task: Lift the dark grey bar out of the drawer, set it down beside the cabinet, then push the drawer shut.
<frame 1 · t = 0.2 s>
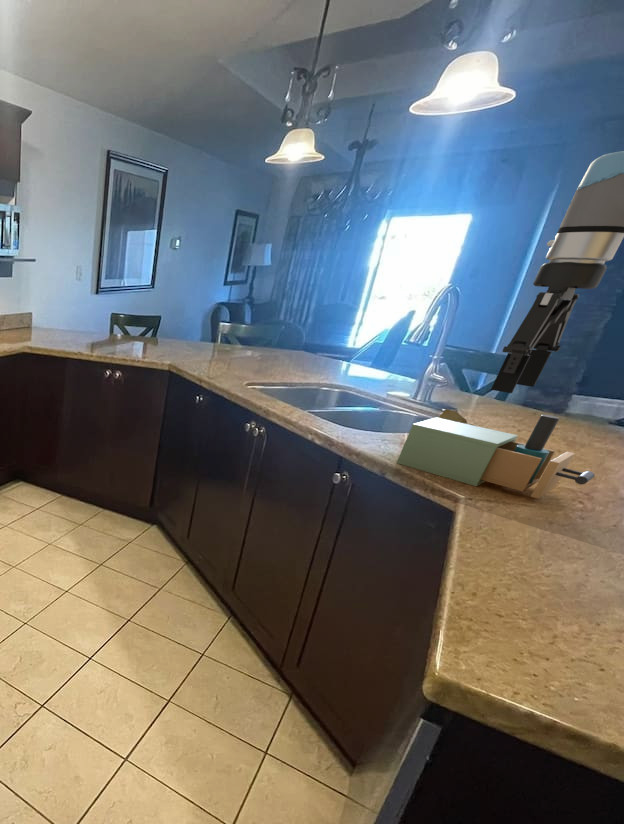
hand: (512, 388, 90), 23 cm above the countertop, tool pointing down, fingers open, 13 cm apart
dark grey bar: (516, 479, 105), point 2 cm above the countertop, touching drawer
cabinet: (445, 469, 115), on the countertop
rock: (445, 449, 129), on the countertop
drawer: (525, 467, 104), point 5 cm above the countertop, slide at 8.0 cm, touching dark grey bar
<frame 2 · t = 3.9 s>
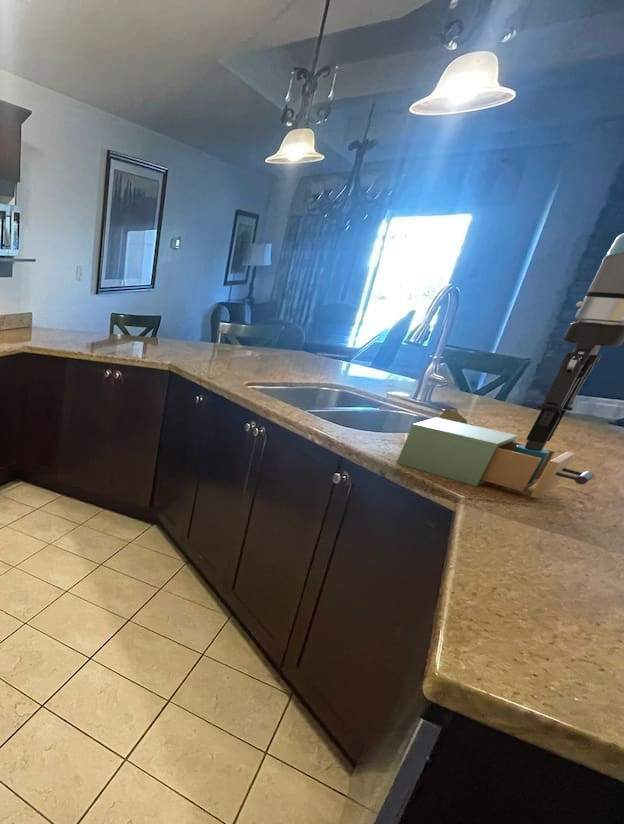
hand: (537, 440, 101), 11 cm above the countertop, tool pointing down, fingers closed on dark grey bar, 3 cm apart
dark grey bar: (516, 479, 105), point 2 cm above the countertop, touching gripper
drawer: (525, 467, 104), point 5 cm above the countertop, slide at 8.0 cm
everything else where it was.
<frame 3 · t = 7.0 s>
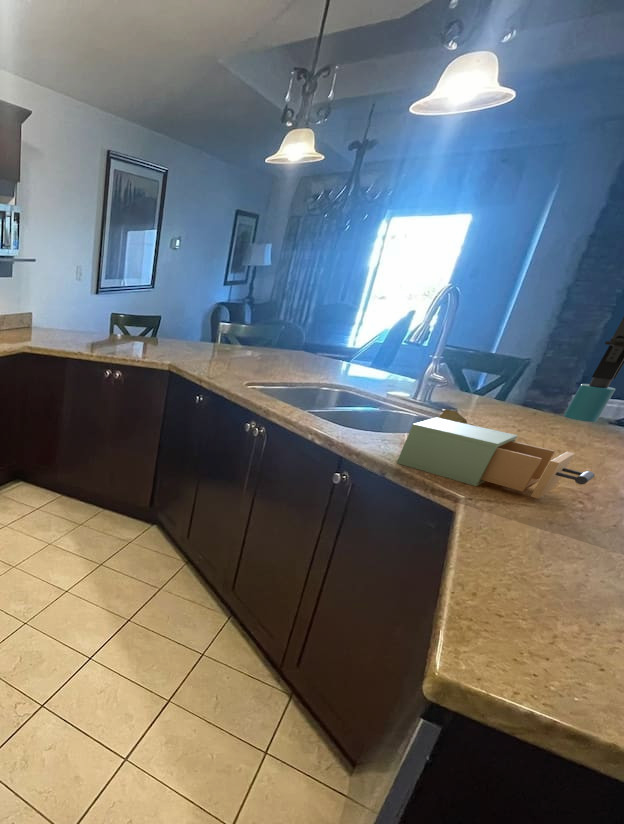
hand: (603, 377, 101), 24 cm above the countertop, tool pointing down, fingers closed on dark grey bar, 3 cm apart
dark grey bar: (579, 418, 105), point 15 cm above the countertop, touching gripper
everything else where it was.
when the fingers open (9 cm above the countertop, at t = 10.4 s): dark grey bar stays where it is, on the countertop.
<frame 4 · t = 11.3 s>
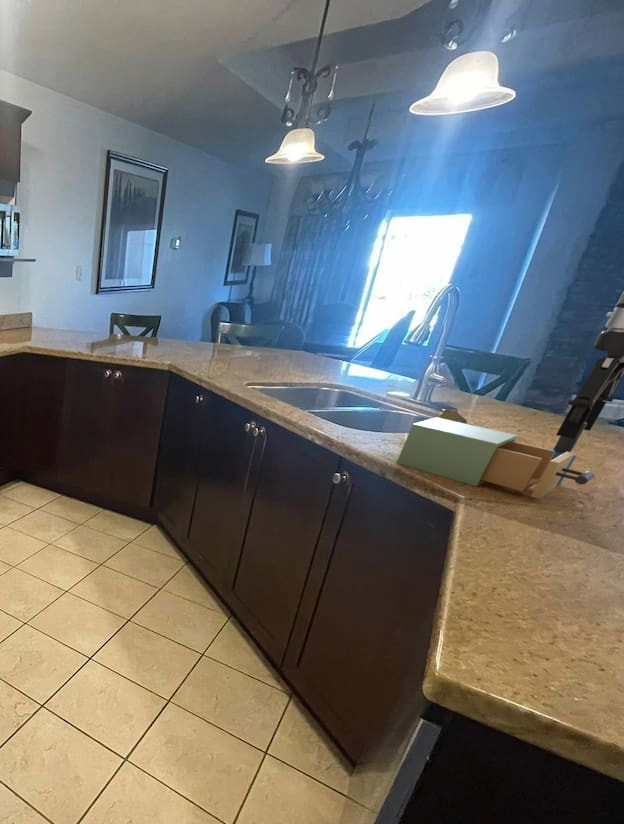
hand: (573, 432, 106), 11 cm above the countertop, tool pointing down, fingers open, 13 cm apart
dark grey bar: (544, 480, 111), on the countertop
everything else where it was.
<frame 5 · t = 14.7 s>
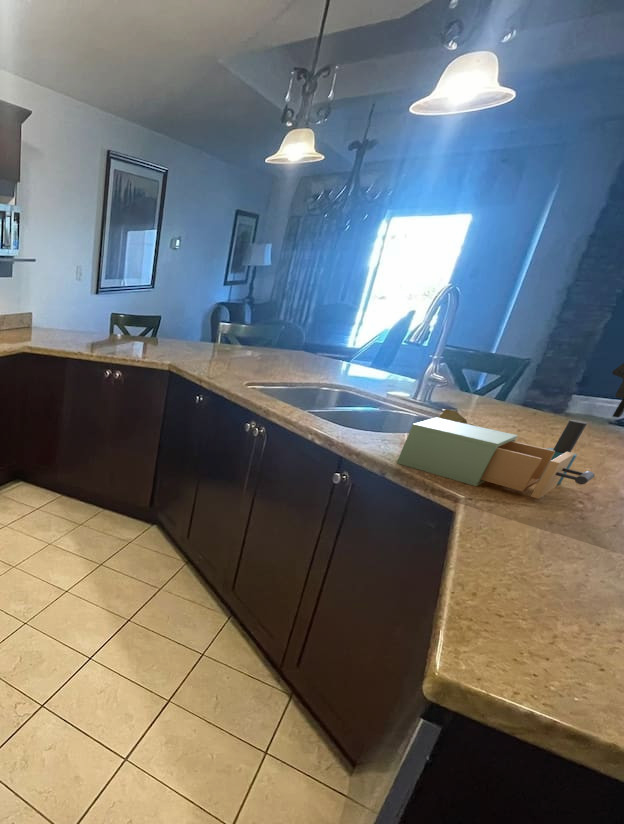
nothing on the countertop moved.
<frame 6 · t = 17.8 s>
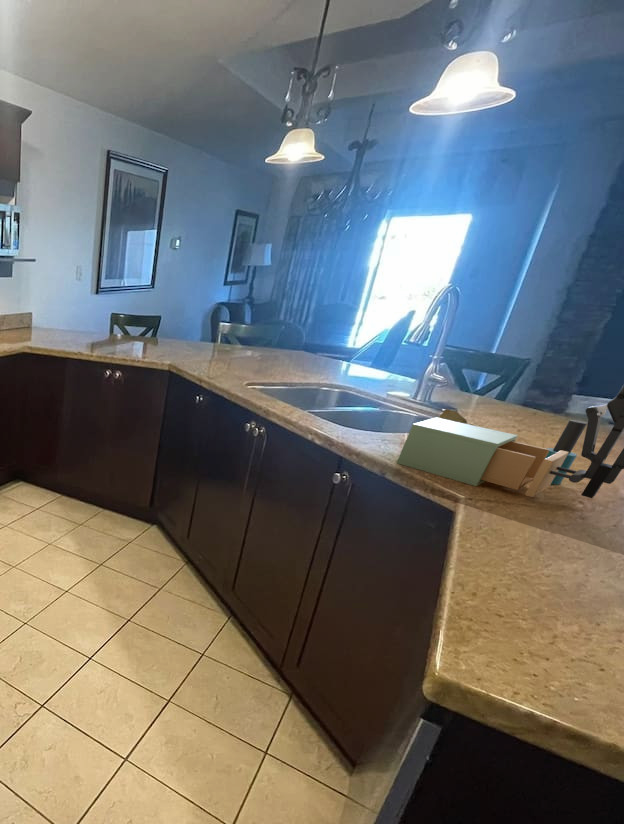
hand: (587, 495, 97), 3 cm above the countertop, tool pointing down, fingers closed
drawer: (520, 466, 104), point 5 cm above the countertop, slide at 7.1 cm, touching gripper
everything else where it was.
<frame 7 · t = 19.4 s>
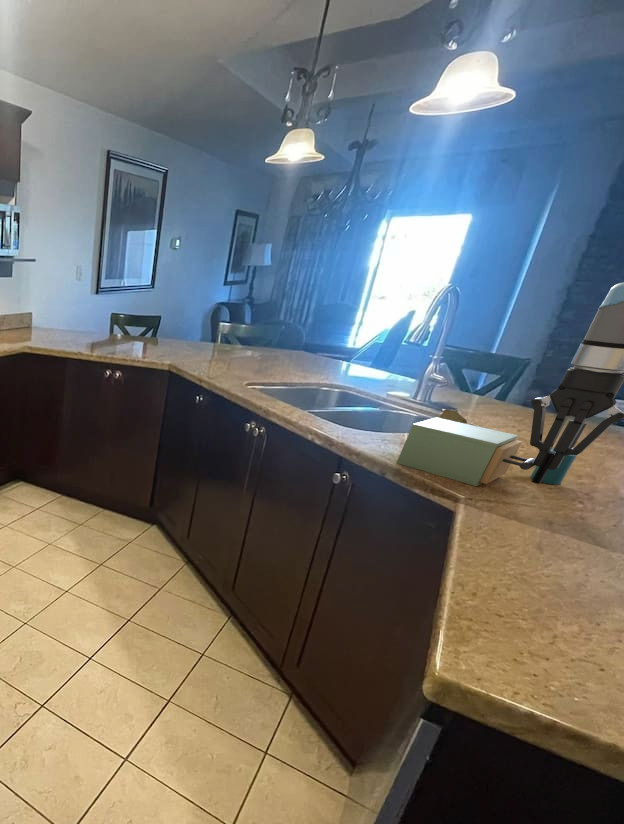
hand: (536, 481, 103), 3 cm above the countertop, tool pointing down, fingers closed
drawer: (477, 455, 110), point 5 cm above the countertop, slide at 0.0 cm, touching cabinet, gripper
everything else where it was.
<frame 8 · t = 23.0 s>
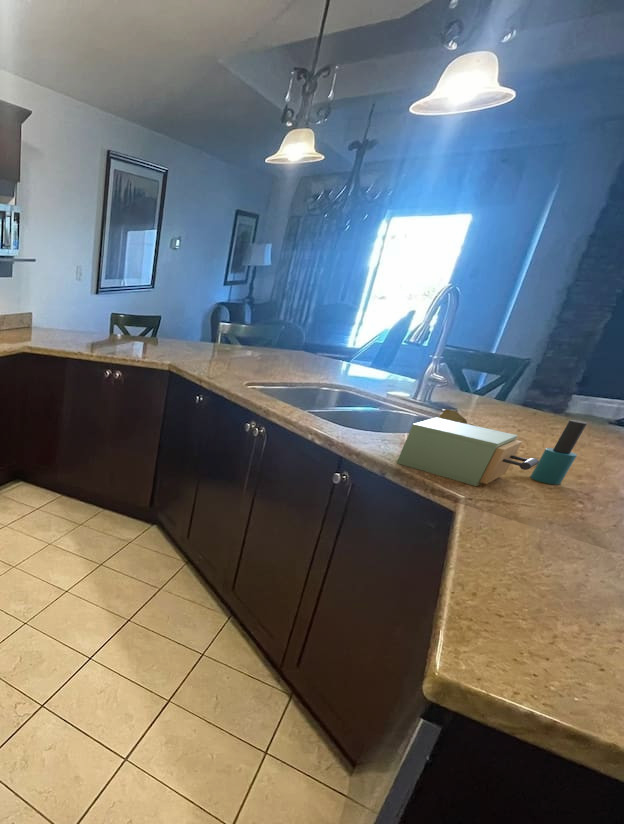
drawer: (477, 455, 110), point 5 cm above the countertop, slide at 0.0 cm, touching cabinet
everything else where it was.
at the end: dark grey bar inside the target area (0.1 cm from its centre), on the countertop; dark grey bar tilted 0°; drawer slide at 0.0 cm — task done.
